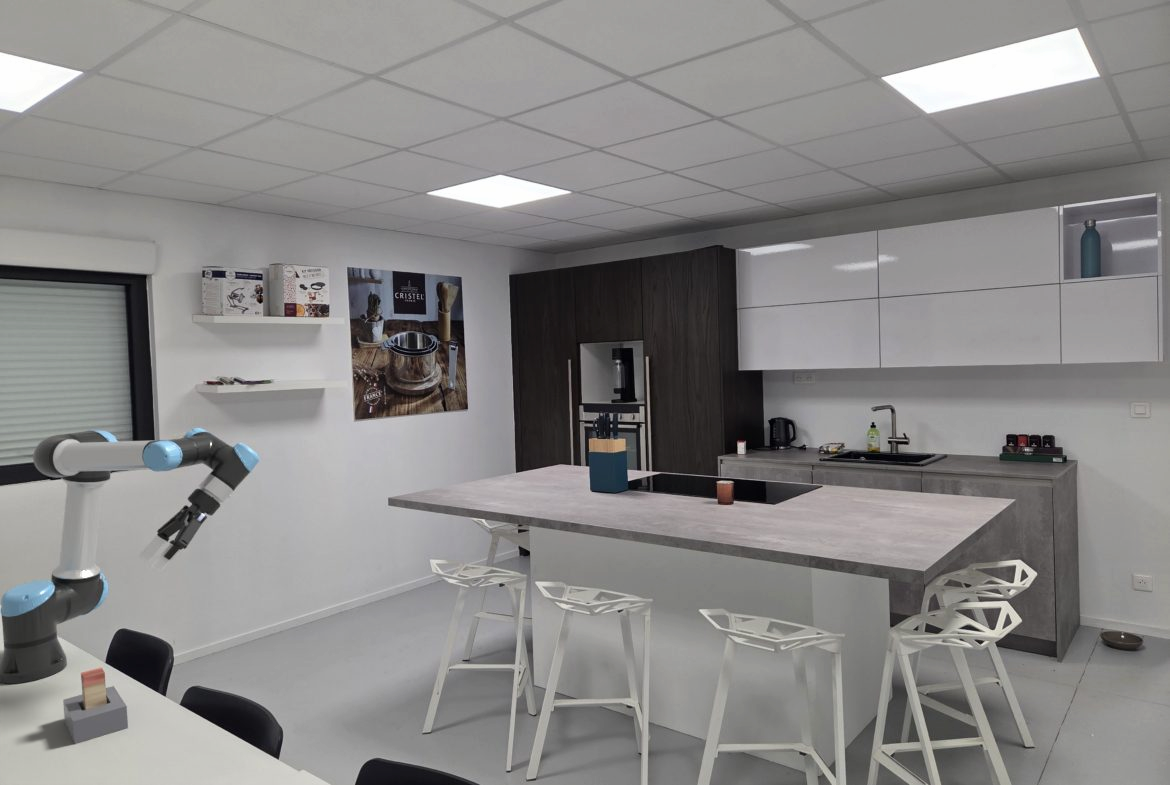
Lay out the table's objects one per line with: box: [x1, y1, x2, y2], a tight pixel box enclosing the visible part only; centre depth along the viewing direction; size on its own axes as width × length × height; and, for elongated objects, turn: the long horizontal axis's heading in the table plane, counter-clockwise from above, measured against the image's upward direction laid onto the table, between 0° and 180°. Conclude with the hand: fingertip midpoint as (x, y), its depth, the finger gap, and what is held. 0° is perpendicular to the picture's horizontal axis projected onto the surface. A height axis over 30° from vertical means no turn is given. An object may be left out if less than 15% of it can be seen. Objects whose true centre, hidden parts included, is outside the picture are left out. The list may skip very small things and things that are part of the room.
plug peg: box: [80, 667, 107, 710], centre depth 171 cm, size 4×4×12 cm
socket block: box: [63, 685, 129, 745], centre depth 172 cm, size 15×10×5 cm, turn 41°
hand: (148, 564), depth 189 cm, fingers open, 13 cm apart
